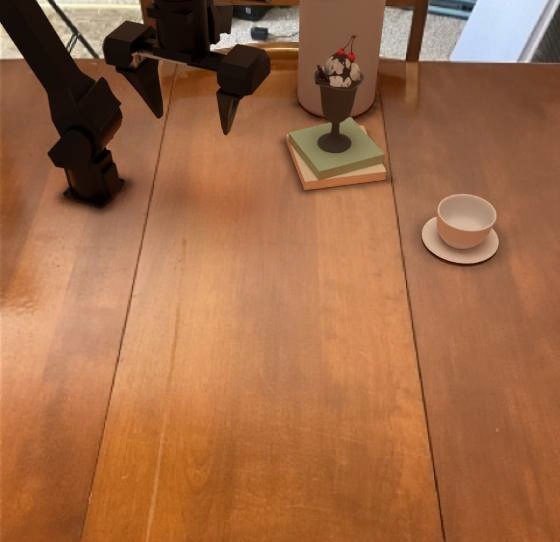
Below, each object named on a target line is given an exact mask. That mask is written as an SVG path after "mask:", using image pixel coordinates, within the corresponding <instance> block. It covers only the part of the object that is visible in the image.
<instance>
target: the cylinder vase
mask: <svg viewBox="0 0 560 542" xmlns="http://www.w3.org/2000/svg"><path fill="white" fill-rule="evenodd" d="M386 3H387V0H299V9H298V10H299V11H298V12H299V14H298V16H299V17H298V56H297V57H298V58H297V100H298V102H299V104H300V105H301V106H302V107H303V108H304V109H305V110H306V111H308V112H309V113H311V114H313V115H316V116H318V117H321V118H326V117H325V116H324V115H323V112H322V106H321V94H320V86H319V85H316V84H315V80H314V74H315V72H316V70H317V69H318V68H317V65H320V66H321V67H322V66H325V62H326V61H327V59H328V58H329V57H330V56H331V55H333V54H335V53H336V52H337V51H338V49H340V48H342V49H343V48H344V47H345V46H346V45H347V44H348V43H349V41H350V39H351V36H352V35H356V38H355V39H354V41H353V38H352V39H351V41H350V43H349V44H348V46H347V47H346V48H345V49H344V50H345V54H346V55H347V54H348V53H351V44H352V41H353V44H352V53H353V54H355V60H354V62H356V64H357V65H358V67H359V69H360V72H361V73H362V74H363V75H364V80H363V81H362V83H361V84H360V85H359V86H358V88H357V91H356V95H355V100H354V104H353V108H352V111H351V114H350V116H349V117H348V118H350V117H351V118H353V117H356V116H359V115H361V114H363V113H364V112H366V111H367V110H368V109H370V107H372V105H373V103H374V101H375V95H376V88H377V80H378V79H377V78H378V71H379V70H378V69H379V62H380V53H381V46H382V36H383V30H384V29H383V28H384V19H385V12H386V5H387V4H386Z"/></svg>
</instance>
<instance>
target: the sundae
mask: <svg viewBox="0 0 560 542" xmlns="http://www.w3.org/2000/svg"><path fill="white" fill-rule="evenodd" d="M352 38H353V41H354V39H355V38H356V35H352V36H351V39H352ZM351 39H350V41H351ZM350 41H349V43H350ZM353 41H352V44H353ZM349 43H348V44H349ZM348 44H347V45H346V46H345V47H344V48H343V49H342V48H340V49H338V51H337V52H336V53H335V54H333V55H331V56H330V57H329V58H328V59H327V61H326V62H325V66H322V67H321V66H320V65H317V68H318V69H317V70H316V72H315V74H314V80H315V84H316V85H319V86H320V94H321V106H322V112H323V115H324V116H325V117H324V118H325V119H326V121H328V122H329V123H330V122H331V123H332V129H331V133H326V134H324V135H322V136H321V137H320V138H319V139H318V141H317V143H318V146H319V147H320V148H321V149H322V150H324V151H327V152H331V153H340V152H344V151H346V150H347V149H349V148H350V147H351V140H350V138H349V137H348V136H346V135H344V134H340V130H339V127H340V123H341V122H343V121H345V120H346V119H347V118H348V117H349V116H350V114H351V111H352V108H353V104H354V100H355V95H356V91H357V88H358V86H359V85H360V84H361V83H362V81H363V80H364V75H363V74H362V73H361V72H360V69H359V67H358V65H357V64H356V62H354V60H355V54H353V53H352V44H351V53H348V54H347V55H346V54H345V50H344V49H345V48H346V47H347V46H348ZM349 118H350V117H349Z"/></svg>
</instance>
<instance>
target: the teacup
mask: <svg viewBox="0 0 560 542" xmlns="http://www.w3.org/2000/svg"><path fill="white" fill-rule="evenodd" d="M497 217H498V215H497V211H496V209H495V207H494V206H493V205H492V204H491V203H490V202H489V201H487V199H484V198H482V197H480V196H477V195H474V194H470V193H469V194H467V193H457V194H451V195H448V196H446V197H444V198H443V199H442V200H441V201H439V203H438V205H437V209H436V216H434V217H432V218H431V219H429V220H428V221H426V223H425V224H424V225H423V227H422V229H421V238H422V241H423V243H424V245H425V247H426V248H427V249H428V250H429V251H430V252H432V254H435V255H436V256H437V257H439V258H441V259H444V260H446V261H448V262H453V263H457V264H475V263H479V262H483V261H485V260H488V259H489V258H491V257H492V256H493V255H495V253H496V252H497V250H498V248H499V237H498V236H499V235H498V234H497V232H496V231H495V229H494V228H493V227H494V225H495V223H496V221H497Z"/></svg>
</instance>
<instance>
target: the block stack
mask: <svg viewBox="0 0 560 542" xmlns="http://www.w3.org/2000/svg"><path fill="white" fill-rule="evenodd" d="M331 129H332V123H331V122H330V121H329V122H326V123H321V124H318V125H313V126H310V127H306V128H301V129H297V130H294V131H290V132H288V133H287V134H286V145H287V147H288V151H289V153H290V156H291V158H292V161H293V163H294V167H295V169H296V172H297V174H298V177H299V180H300V182H301V185H302V188H303V190H304V191H309V190H318V189H325V188H334V187H341V186H348V185H356V184H363V183H371V182H372V183H373V182H378V181H385V180H386V177H387V169H386V167H385V166H384V162H385V156H386V154H385V153H384V151H383V150H382V149H381V148H380V147H379V146H378V145H377V143H376V142H375V141H374V140H373V139H372V138H371V137H370V136H369V135H368V133H367V130H366V128H365V126H364V125H359V124H358V123H357V122H356V121H355V120H354V119H353V117H349V118H347V119H346V120H345V121H343V122H341V123H340V127H339V130H340V134H344V135H346V136H348V137H349V138H350V140H351V147H350V148H349V149H347V150H346V151H344V152H340V153H331V152H327V151H324V150H322V149H321V148H320V147H319V146H318V143H317V141H318V139H319V138H320V137H321V136H322V135H324V134H326V133H331Z"/></svg>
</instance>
